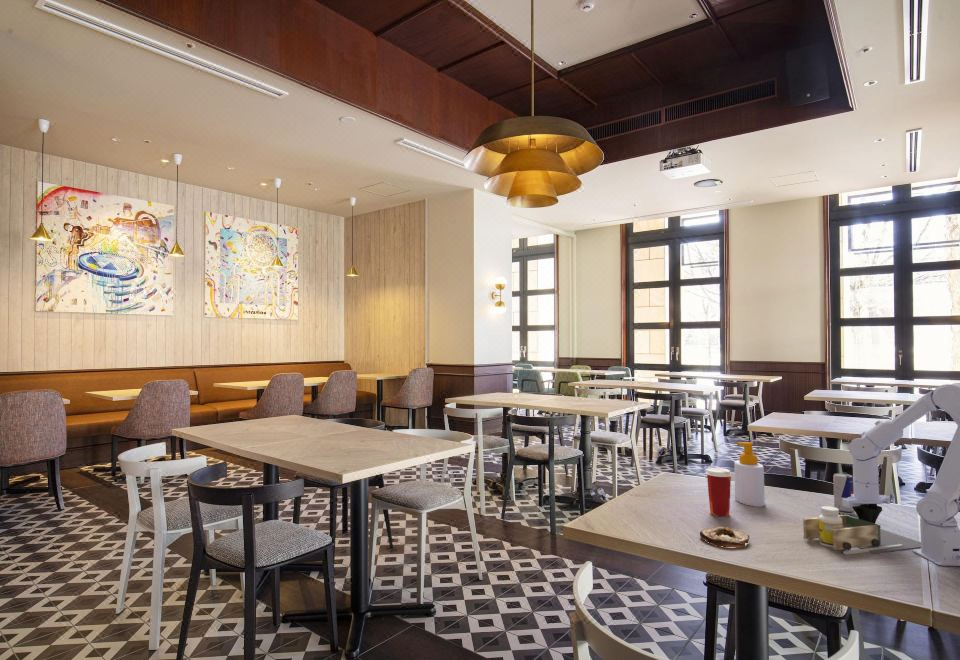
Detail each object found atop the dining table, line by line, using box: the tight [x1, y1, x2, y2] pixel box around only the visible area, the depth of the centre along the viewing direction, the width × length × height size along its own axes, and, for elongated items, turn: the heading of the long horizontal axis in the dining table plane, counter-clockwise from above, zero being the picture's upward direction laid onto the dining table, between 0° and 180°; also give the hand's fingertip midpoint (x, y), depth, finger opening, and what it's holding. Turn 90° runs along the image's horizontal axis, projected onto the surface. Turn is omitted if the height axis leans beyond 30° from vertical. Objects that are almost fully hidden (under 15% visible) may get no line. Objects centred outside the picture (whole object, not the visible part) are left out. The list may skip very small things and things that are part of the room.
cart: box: [802, 514, 881, 551], centre depth 146 cm, size 15×12×5 cm
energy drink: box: [832, 472, 855, 516], centre depth 174 cm, size 5×5×12 cm
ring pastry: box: [699, 526, 751, 548], centre depth 149 cm, size 15×15×4 cm
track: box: [803, 528, 921, 556], centre depth 148 cm, size 26×16×1 cm, turn 105°
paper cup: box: [705, 467, 732, 517], centre depth 174 cm, size 8×8×14 cm
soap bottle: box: [733, 441, 766, 508], centre depth 187 cm, size 13×8×20 cm, turn 178°
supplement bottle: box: [818, 505, 843, 549], centre depth 146 cm, size 5×5×10 cm
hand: (867, 531), depth 149 cm, fingers closed
